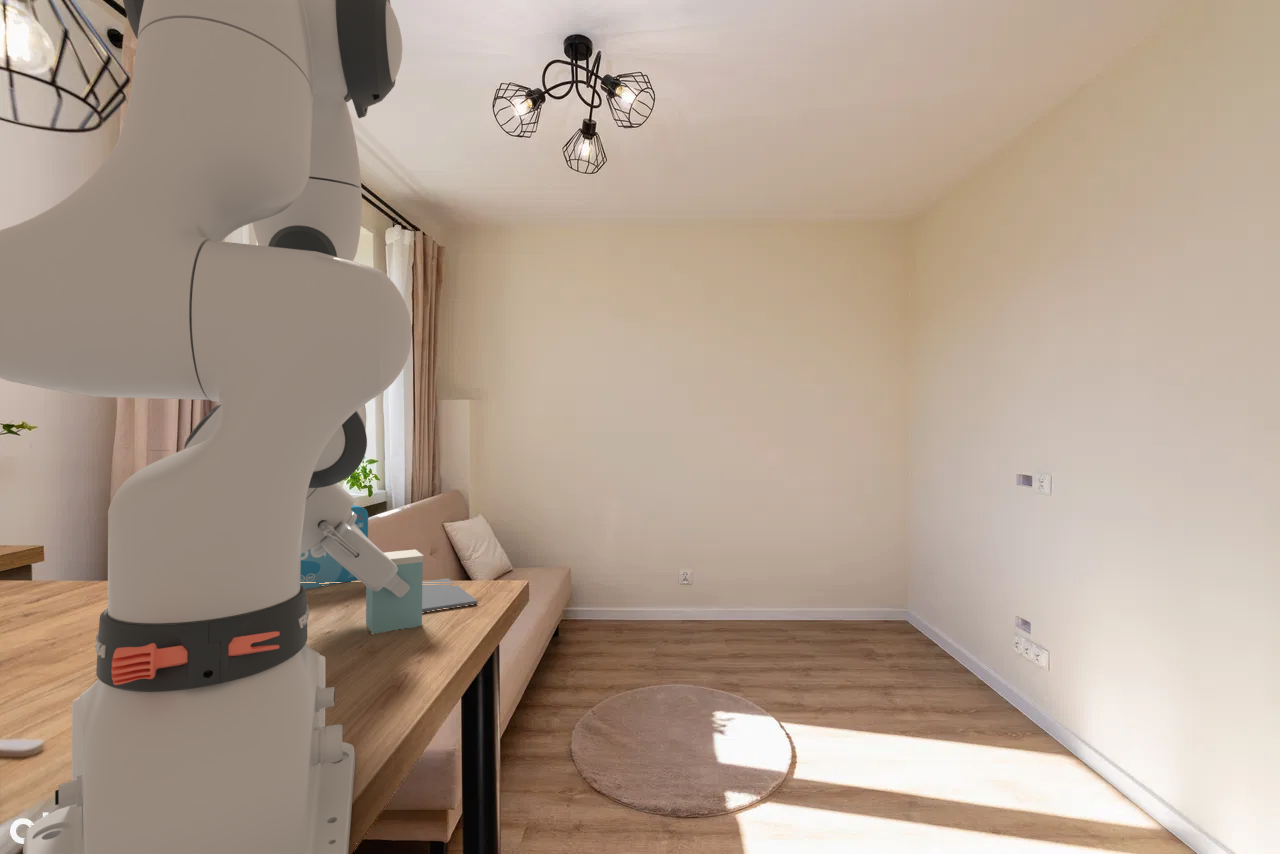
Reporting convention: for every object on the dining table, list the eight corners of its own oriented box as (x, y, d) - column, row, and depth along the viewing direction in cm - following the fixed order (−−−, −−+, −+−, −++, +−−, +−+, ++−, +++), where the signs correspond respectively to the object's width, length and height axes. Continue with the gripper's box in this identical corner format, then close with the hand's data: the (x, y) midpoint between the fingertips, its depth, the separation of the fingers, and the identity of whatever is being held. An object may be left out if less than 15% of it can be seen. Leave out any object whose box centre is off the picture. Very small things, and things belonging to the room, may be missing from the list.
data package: (288, 593, 93) (289, 513, 93) (277, 587, 96) (278, 509, 96) (367, 578, 102) (369, 505, 102) (355, 573, 105) (356, 502, 105)
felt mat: (477, 604, 89) (477, 600, 89) (388, 618, 83) (388, 613, 83) (448, 581, 101) (448, 578, 101) (368, 592, 94) (368, 588, 94)
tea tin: (422, 626, 80) (423, 555, 80) (371, 634, 77) (372, 561, 77) (414, 616, 84) (415, 549, 84) (364, 624, 80) (365, 554, 80)
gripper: (350, 508, 67) (440, 586, 73) (325, 488, 84) (399, 552, 90) (303, 554, 65) (400, 630, 71) (287, 523, 82) (366, 587, 88)
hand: (399, 586), depth 80 cm, fingers open, 4 cm apart
